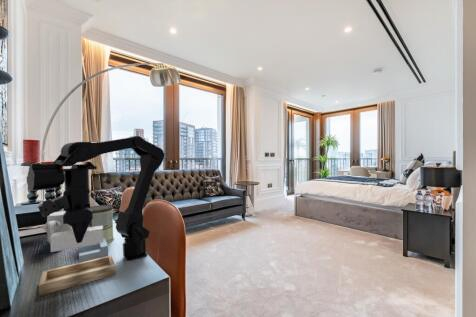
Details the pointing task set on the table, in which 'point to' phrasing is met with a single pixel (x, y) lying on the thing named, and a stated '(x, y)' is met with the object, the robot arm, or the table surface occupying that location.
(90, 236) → the steel block
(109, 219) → the coffee can
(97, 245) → the bracket
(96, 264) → the oak tray
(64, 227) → the cup
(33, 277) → the table surface
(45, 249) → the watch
